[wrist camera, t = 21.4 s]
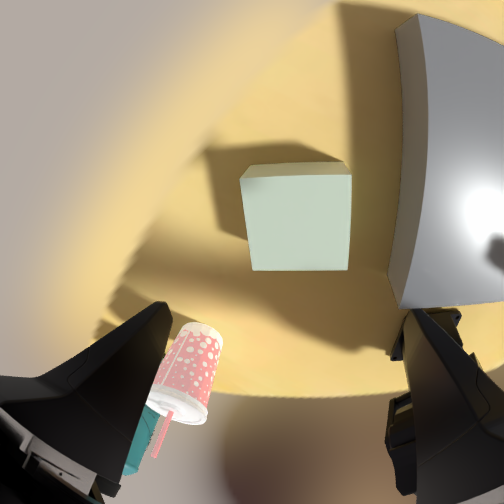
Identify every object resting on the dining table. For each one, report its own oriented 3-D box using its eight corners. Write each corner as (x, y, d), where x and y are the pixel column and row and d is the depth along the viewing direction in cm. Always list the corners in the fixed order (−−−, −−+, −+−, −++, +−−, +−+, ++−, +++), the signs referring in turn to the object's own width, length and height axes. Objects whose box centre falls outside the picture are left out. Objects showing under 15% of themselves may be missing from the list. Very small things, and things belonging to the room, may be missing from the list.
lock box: (507, 271, 16) (526, 297, 13) (387, 274, 19) (398, 309, 16) (534, 81, 7) (565, 86, 4) (394, 29, 10) (417, 13, 7)
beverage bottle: (128, 347, 32) (62, 469, 15) (152, 334, 29) (75, 482, 12) (164, 375, 34) (112, 495, 17) (192, 366, 31) (136, 510, 14)
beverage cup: (186, 352, 29) (141, 457, 18) (166, 315, 26) (103, 431, 15) (236, 356, 28) (200, 476, 16) (221, 317, 25) (169, 456, 13)
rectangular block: (342, 242, 19) (347, 270, 16) (260, 243, 20) (252, 270, 17) (342, 160, 16) (351, 174, 13) (251, 164, 17) (239, 178, 14)
